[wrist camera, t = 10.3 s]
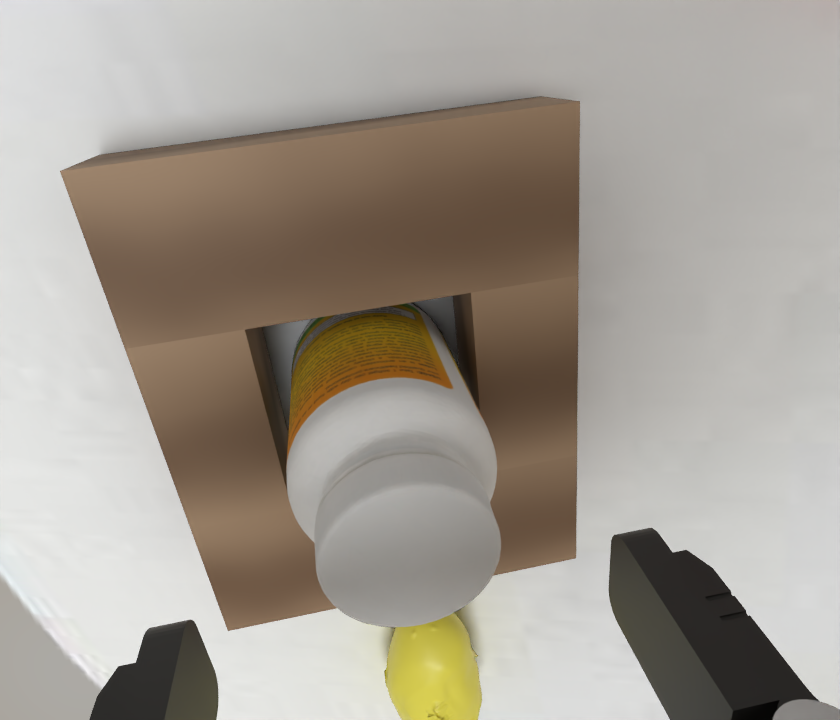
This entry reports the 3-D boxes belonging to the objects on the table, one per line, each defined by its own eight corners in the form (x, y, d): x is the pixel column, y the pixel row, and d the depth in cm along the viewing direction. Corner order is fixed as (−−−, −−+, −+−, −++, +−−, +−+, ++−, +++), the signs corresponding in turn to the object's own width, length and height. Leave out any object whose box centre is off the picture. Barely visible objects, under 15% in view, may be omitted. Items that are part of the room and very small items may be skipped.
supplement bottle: (258, 365, 21) (222, 578, 12) (371, 257, 20) (418, 405, 11) (369, 453, 23) (404, 685, 14) (475, 359, 22) (581, 548, 13)
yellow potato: (468, 570, 27) (491, 645, 23) (472, 689, 30) (493, 770, 27) (373, 586, 26) (382, 665, 23) (389, 706, 30) (399, 790, 26)
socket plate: (98, 154, 17) (59, 170, 14) (540, 96, 18) (579, 101, 16) (237, 569, 24) (228, 630, 22) (548, 506, 26) (575, 558, 23)
